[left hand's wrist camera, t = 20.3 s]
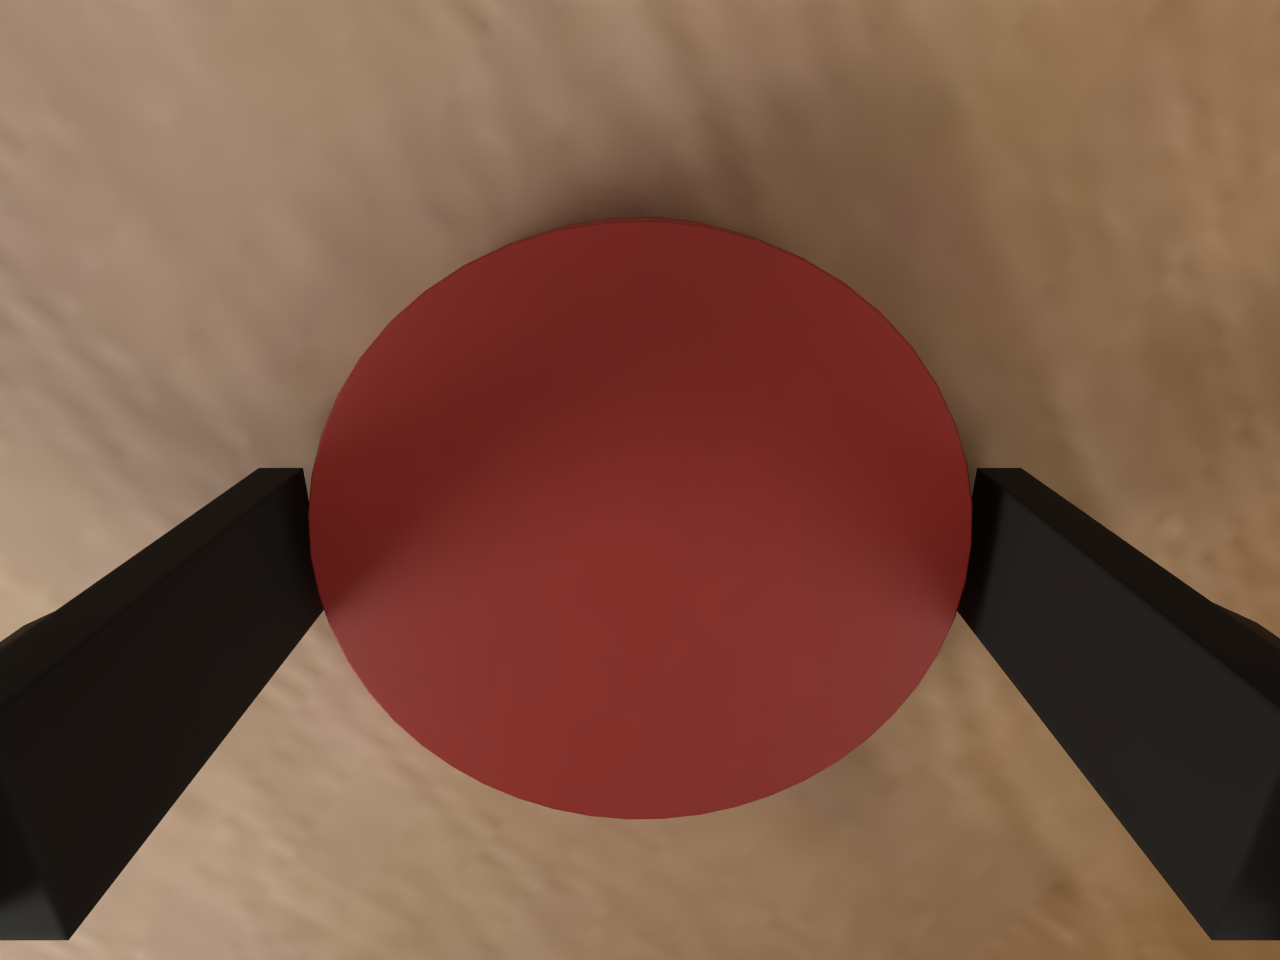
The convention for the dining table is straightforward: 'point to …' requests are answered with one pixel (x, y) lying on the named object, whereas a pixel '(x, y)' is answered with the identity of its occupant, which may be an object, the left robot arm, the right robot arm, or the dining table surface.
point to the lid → (640, 519)
